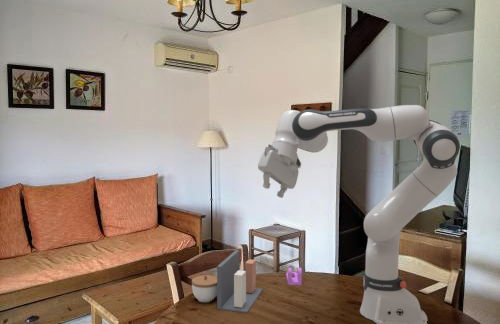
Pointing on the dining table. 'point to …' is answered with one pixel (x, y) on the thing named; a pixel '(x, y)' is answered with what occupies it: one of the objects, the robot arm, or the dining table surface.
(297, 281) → the bracket
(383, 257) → the robot arm
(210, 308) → the dining table surface
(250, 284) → the salmon pink block
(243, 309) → the gray bookend
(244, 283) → the white rectangular block
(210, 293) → the lidded jar
